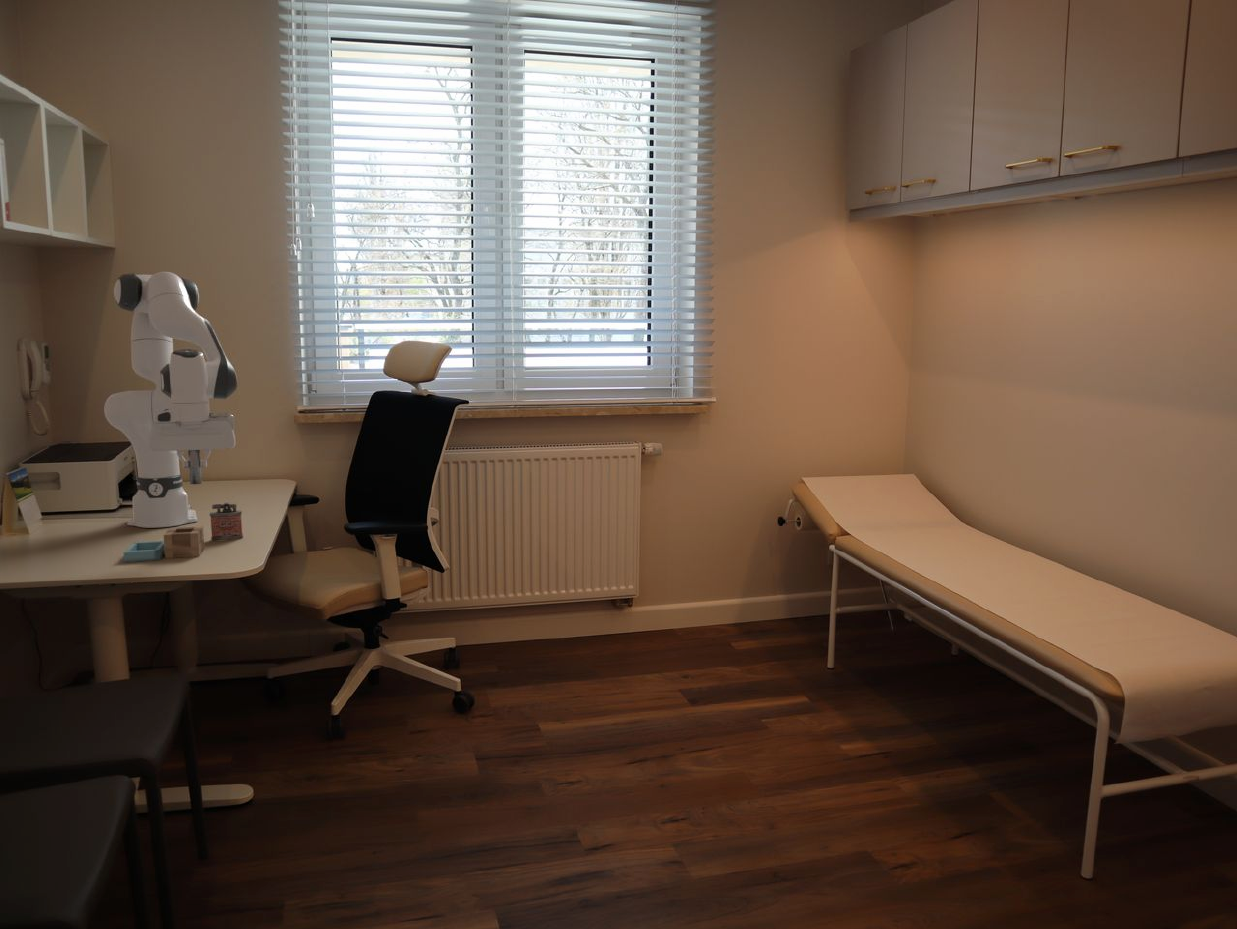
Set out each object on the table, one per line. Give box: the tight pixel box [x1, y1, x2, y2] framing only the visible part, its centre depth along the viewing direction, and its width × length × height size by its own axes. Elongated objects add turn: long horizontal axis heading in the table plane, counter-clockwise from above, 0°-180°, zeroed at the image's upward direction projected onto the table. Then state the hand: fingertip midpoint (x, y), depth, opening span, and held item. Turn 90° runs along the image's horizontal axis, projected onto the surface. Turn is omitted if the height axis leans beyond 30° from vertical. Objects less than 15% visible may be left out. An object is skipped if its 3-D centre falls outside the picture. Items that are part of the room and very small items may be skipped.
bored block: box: [163, 526, 206, 559], centre depth 253 cm, size 8×8×6 cm
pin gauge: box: [187, 450, 203, 485], centre depth 254 cm, size 3×3×11 cm
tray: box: [123, 540, 165, 563], centre depth 251 cm, size 11×8×2 cm
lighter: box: [209, 501, 244, 542], centre depth 269 cm, size 8×3×10 cm, turn 111°
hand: (194, 467), depth 254 cm, fingers closed on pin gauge, 3 cm apart
